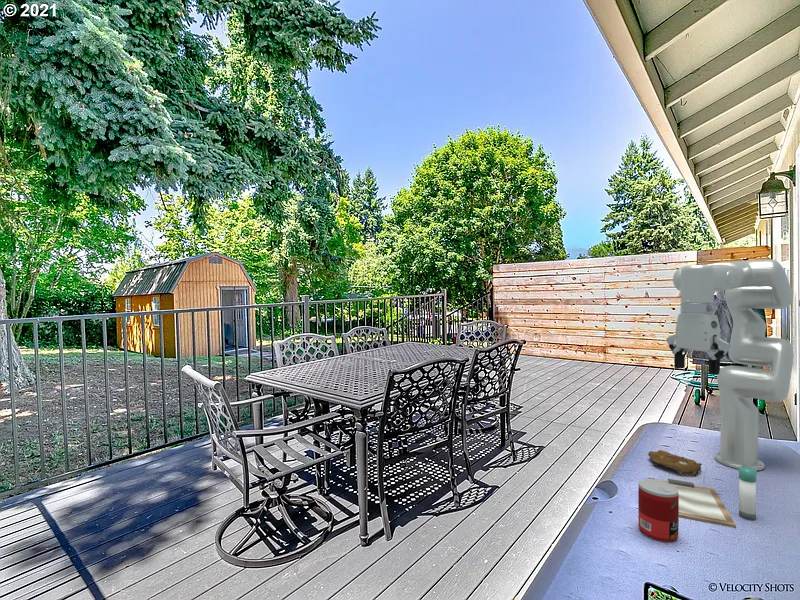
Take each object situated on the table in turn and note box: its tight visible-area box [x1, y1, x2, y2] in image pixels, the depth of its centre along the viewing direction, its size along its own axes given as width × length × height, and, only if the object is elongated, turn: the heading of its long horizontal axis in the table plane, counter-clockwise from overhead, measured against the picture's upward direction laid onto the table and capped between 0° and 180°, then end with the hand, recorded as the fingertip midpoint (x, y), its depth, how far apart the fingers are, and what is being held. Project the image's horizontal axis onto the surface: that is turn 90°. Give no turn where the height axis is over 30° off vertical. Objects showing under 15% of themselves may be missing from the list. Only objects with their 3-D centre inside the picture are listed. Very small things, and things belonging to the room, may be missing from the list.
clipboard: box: [647, 477, 737, 528], centre depth 111 cm, size 20×16×2 cm
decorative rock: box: [647, 449, 702, 478], centre depth 133 cm, size 11×4×15 cm
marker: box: [738, 466, 758, 521], centre depth 103 cm, size 3×3×12 cm
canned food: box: [637, 478, 680, 543], centre depth 97 cm, size 8×8×11 cm
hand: (695, 371), depth 115 cm, fingers open, 9 cm apart
